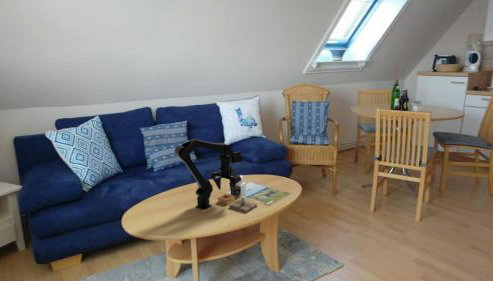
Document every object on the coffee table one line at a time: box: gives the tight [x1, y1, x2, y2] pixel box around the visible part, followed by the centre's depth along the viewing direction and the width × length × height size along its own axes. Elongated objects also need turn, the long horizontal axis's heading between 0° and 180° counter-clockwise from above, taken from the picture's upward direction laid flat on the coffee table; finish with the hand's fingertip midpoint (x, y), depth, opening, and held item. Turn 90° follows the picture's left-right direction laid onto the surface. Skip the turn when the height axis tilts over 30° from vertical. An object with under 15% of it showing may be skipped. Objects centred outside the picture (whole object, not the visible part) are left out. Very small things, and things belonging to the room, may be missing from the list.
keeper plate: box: [228, 196, 258, 214], centre depth 191 cm, size 10×12×6 cm
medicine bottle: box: [230, 174, 247, 198], centre depth 209 cm, size 7×7×12 cm
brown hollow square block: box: [217, 193, 236, 206], centre depth 199 cm, size 7×7×3 cm
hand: (225, 191), depth 198 cm, fingers open, 9 cm apart
